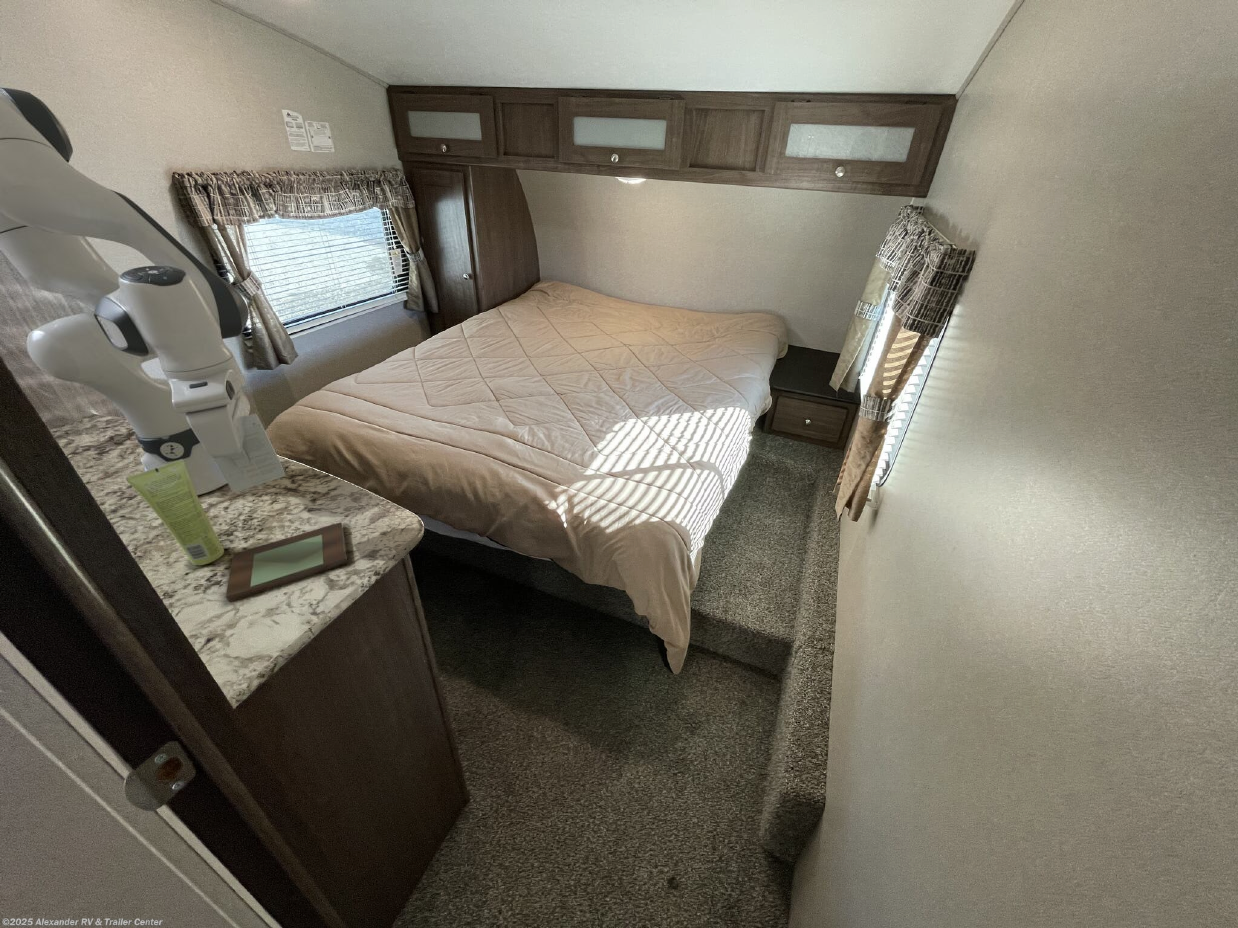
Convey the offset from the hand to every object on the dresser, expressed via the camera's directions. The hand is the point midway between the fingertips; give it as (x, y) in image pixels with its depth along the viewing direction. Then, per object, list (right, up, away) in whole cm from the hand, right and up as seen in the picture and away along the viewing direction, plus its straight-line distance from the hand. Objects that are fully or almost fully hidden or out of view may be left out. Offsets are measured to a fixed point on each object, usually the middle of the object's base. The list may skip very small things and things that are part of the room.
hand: (246, 455), depth 83 cm
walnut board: (+3, -19, +6) cm, 20 cm away
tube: (-13, -19, +8) cm, 24 cm away
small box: (0, -4, +3) cm, 5 cm away
